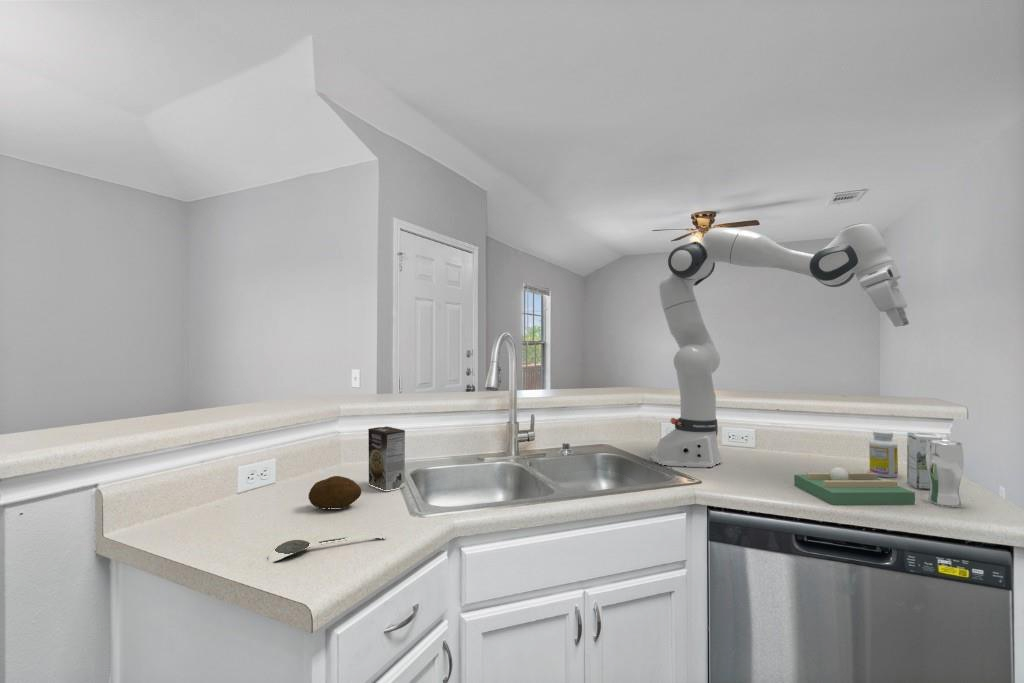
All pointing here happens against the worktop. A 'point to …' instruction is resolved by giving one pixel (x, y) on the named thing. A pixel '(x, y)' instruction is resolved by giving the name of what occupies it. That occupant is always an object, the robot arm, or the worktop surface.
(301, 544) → the soupspoon
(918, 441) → the syrup box
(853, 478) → the putting mat
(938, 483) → the beer glass
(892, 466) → the supplement bottle
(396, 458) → the coffee box
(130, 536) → the worktop surface
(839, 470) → the ball
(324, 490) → the potato
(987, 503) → the worktop surface
